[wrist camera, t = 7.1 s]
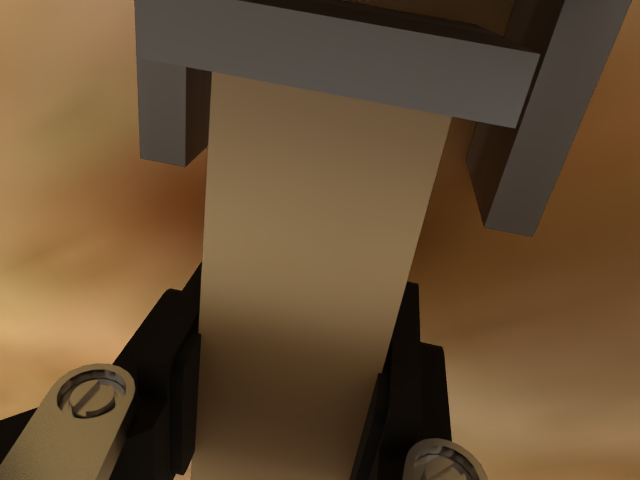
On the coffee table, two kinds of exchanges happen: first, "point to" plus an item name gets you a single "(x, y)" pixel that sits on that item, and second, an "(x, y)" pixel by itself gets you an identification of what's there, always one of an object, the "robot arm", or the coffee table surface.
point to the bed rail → (315, 207)
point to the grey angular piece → (488, 140)
